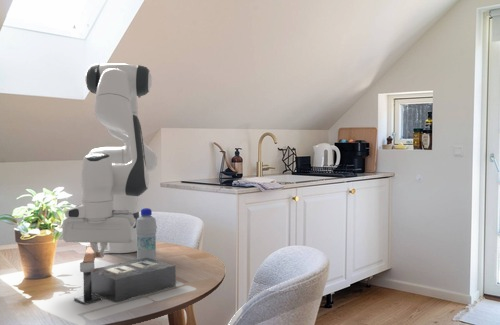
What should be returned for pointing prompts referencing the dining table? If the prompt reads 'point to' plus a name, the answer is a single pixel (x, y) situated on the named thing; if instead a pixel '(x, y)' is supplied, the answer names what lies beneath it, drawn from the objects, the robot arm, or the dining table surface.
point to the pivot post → (87, 291)
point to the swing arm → (88, 260)
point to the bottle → (146, 235)
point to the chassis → (132, 279)
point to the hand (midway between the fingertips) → (99, 257)
